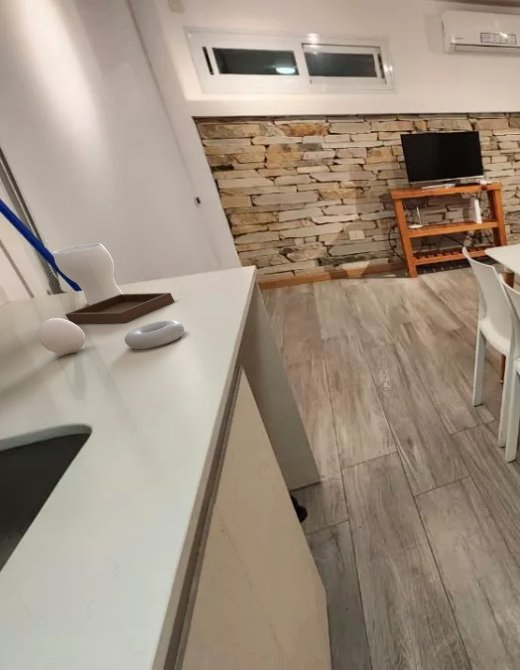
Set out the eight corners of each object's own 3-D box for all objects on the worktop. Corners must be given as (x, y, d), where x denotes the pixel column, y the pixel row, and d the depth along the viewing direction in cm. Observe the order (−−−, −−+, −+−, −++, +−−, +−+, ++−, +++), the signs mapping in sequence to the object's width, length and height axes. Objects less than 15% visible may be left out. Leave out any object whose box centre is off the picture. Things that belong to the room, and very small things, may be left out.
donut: (140, 356, 98) (195, 335, 105) (131, 341, 96) (188, 321, 104) (122, 347, 103) (175, 328, 110) (113, 333, 101) (168, 314, 109)
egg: (83, 355, 100) (62, 321, 97) (44, 362, 98) (21, 328, 94) (97, 343, 105) (78, 310, 102) (61, 350, 103) (39, 316, 100)
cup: (132, 290, 139) (106, 240, 133) (130, 299, 132) (102, 247, 125) (83, 301, 133) (53, 249, 127) (78, 311, 126) (46, 256, 119)
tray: (70, 323, 118) (64, 314, 116) (124, 302, 130) (120, 294, 129) (125, 322, 116) (119, 313, 115) (174, 301, 128) (170, 292, 127)
